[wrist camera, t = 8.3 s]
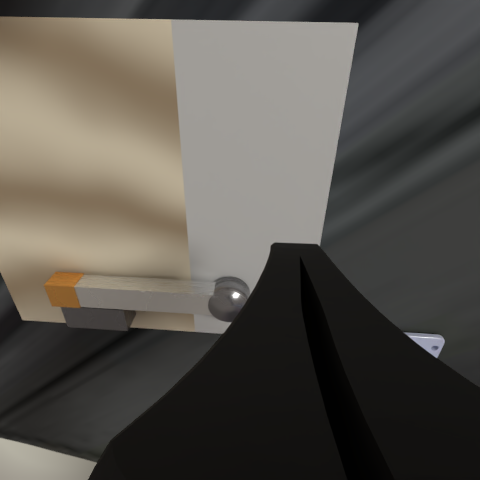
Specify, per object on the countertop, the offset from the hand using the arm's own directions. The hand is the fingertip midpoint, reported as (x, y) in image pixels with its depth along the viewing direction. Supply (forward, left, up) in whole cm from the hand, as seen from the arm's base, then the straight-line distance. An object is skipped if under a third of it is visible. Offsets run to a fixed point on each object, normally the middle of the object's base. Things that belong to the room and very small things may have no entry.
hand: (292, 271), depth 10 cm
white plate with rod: (-2, +1, -9) cm, 10 cm away
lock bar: (-8, +8, -8) cm, 13 cm away
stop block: (-9, +11, -8) cm, 16 cm away
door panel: (-2, +11, -9) cm, 15 cm away
